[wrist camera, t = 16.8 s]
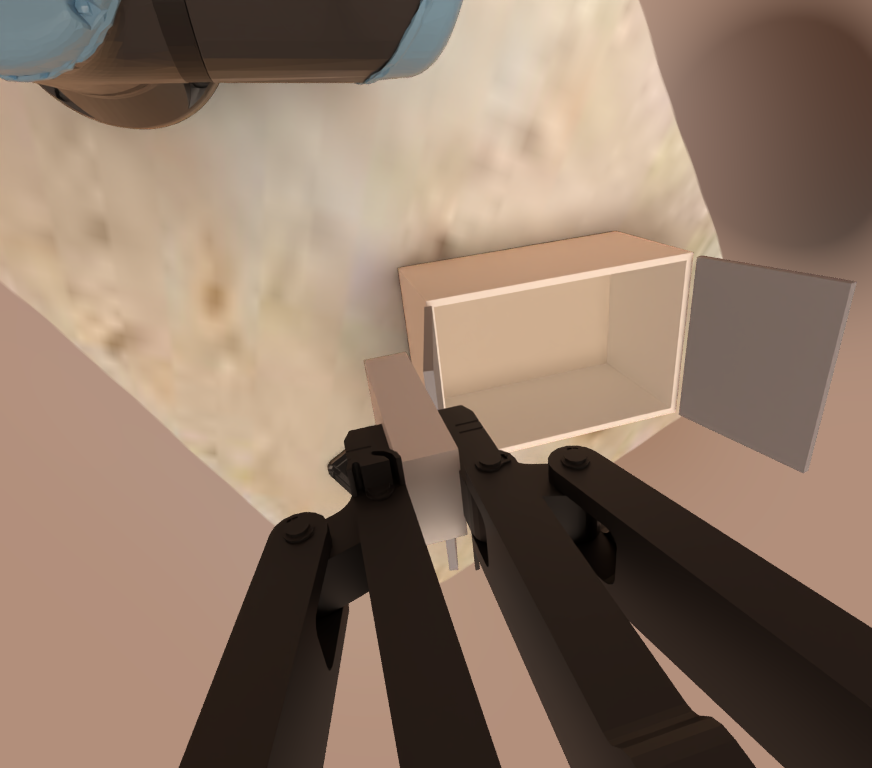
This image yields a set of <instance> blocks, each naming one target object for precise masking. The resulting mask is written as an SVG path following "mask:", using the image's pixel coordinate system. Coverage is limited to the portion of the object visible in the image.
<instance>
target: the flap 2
mask: <svg viewBox="0 0 872 768" xmlns="http://www.w3.org/2000/svg"><path fill="white" fill-rule="evenodd" d="M856 283H857V282H856V281H850V280H844V279H838V278H832V277H826V276H820V275H814V274H809V273H803V272H797V271H791V270H785V269H778V268H773V267H767V266H761V265H755V264H749V263H743V262H737V261H731V260H725V259H720V258H714V257H708V256H699V257H697V262H696V271H695V279H694V288H693V297H692V305H691V314H690V323H689V331H688V340H687V349H686V357H685V366H684V375H683V383H682V392H681V401H680V409H679V415H681V416H683V417H685V418H687V419H689V420H691V421H693V422H696V423H698V424H700V425H702V426H704V427H706V428H708V429H710V430H712V431H715V432H717V433H719V434H721V435H723V436H725V437H727V438H730V439H732V440H734V441H736V442H739V443H740V444H742V445H744V446H746V447H749V448H751V449H753V450H755V451H757V452H760V453H761V454H764V455H766V456H768V457H770V458H772V459H774V460H776V461H778V462H780V463H783V464H785V465H787V466H789V467H791V468H793V469H795V470H797V471H800V472H802V473H805V472H806V471H808V468H809V465H810V461H811V456H812V453H813V449H814V445H815V441H816V438H817V434H818V430H819V426H820V422H821V418H822V414H823V410H824V406H825V403H826V399H827V395H828V391H829V387H830V383H831V380H832V376H833V372H834V368H835V364H836V360H837V356H838V353H839V348H840V345H841V341H842V337H843V333H844V329H845V325H846V322H847V318H848V314H849V310H850V306H851V302H852V298H853V294H854V291H855V286H856Z"/></svg>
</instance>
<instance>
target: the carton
mask: <svg viewBox="0 0 872 768" xmlns="http://www.w3.org/2000/svg"><path fill="white" fill-rule="evenodd" d="M693 253H694V252H691V251H687V250H684V249H680V248H676V247H673V246H669V245H665V244H662V243H658V242H654V241H651V240H647V239H644V238H640V237H636V236H633V235H629V234H625V233H622V232H618V231H612V232H606V233H600V234H594V235H588V236H582V237H576V238H571V239H565V240H559V241H553V242H547V243H541V244H535V245H529V246H524V247H518V248H512V249H506V250H500V251H494V252H488V253H482V254H477V255H471V256H465V257H459V258H453V259H447V260H441V261H435V262H430V263H424V264H418V265H412V266H406V267H400V268H398V274H399V281H400V288H401V295H402V302H403V309H404V316H405V323H406V330H407V337H408V343H409V350H410V357H411V363H412V364H413V366H414V368H415V370H416V372H417V374H418V375H419V377H420V379H421V381H422V383H423V385H424V386H425V382H424V375H423V350H424V307H428V306H432V311H433V319H434V328H435V336H436V345H437V353H438V362H439V370H440V378H441V387H442V395H443V404H444V409H445V408H449V407H454V406H458V405H463V406H464V407H466V408H468V409H470V410H472V411H473V412H474V414H475V415H476V417H477V418H478V420H479V421H480V423H481V424H482V426H483V428H484V429H485V430H486V432H487V433H488V434H489V436H490V437H491V439H492V440H493V442H494V443H495V445H496V446H497V448H498V449H499V450H503V451H505V452H512V451H516V450H520V449H525V448H529V447H533V446H537V445H541V444H545V443H549V442H553V441H558V440H562V439H566V438H570V437H574V436H578V435H582V434H587V433H591V432H595V431H599V430H603V429H607V428H611V427H615V426H620V425H624V424H628V423H632V422H636V421H640V420H644V419H648V418H653V417H657V416H661V415H665V414H669V413H673V412H676V404H677V396H678V387H679V378H680V369H681V360H682V351H683V342H684V333H685V324H686V315H687V306H688V297H689V288H690V279H691V270H692V262H693Z"/></svg>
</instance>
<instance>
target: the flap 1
mask: <svg viewBox="0 0 872 768" xmlns="http://www.w3.org/2000/svg"><path fill="white" fill-rule="evenodd" d="M423 375H424V382H425V388H426V390H427V392H428V394H429V396H430V398H431V399H432V401H433V403H434V405H435V407H436V409H437V410H440V409H444V404H443V395H442V387H441V378H440V370H439V362H438V353H437V345H436V336H435V328H434V319H433V311H432V306H428V307H424V350H423ZM446 547H447V554H448V562H449V569H450V570H458V560H457V546H456V538H453V539H449V540H446Z"/></svg>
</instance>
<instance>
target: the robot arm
mask: <svg viewBox="0 0 872 768" xmlns="http://www.w3.org/2000/svg"><path fill="white" fill-rule="evenodd" d="M462 2H463V0H0V78H2V79H5V80H7V81H14V82H33V83H37V84H39V85H40V86H41V87H42V88H43V89H44V90H45V91H47V92H48V93H49V94H50V95H51V96H53V97H54V98H55V99H57V100H58V101H60V102H61V103H63V104H64V105H66V106H67V107H69V108H71V109H72V110H74V111H76V112H78V113H80V114H82V115H84V116H86V117H88V118H91V119H93V120H96V121H98V122H101V123H105V124H108V125H112V126H117V127H123V128H132V129H156V128H162V127H167V126H170V125H173V124H176V123H179V122H181V121H183V120H185V119H187V118H189V117H190V116H192V115H193V114H195V113H196V112H197V111H198V110H200V109H201V108H202V107H203V106H204V105H205V104H206V102H207V101H208V100H209V99H210V98H211V96H212V95H213V93H214V92H215V90H216V88H217V87H218V84H219V83H355V84H358V85H362V84H371V83H373V82H376V81H378V80H386V79H397V78H409V77H413V76H416V75H418V74H420V73H422V72H424V71H425V70H427V69H428V68H429V67H430V66H431V65H432V64H433V63H434V62H435V61H436V60H437V59H438V57H439V56H440V54H441V53H442V51H443V50H444V48H445V46H446V44H447V42H448V40H449V38H450V36H451V34H452V31H453V29H454V26H455V23H456V21H457V18H458V15H459V12H460V8H461V5H462ZM364 364H365V370H366V375H367V380H368V386H369V391H370V396H371V401H372V407H373V412H374V417H375V423H376V425H374V426H369V427H365V428H360V429H356V430H351V431H349V432H348V434H347V436H346V438H345V440H344V445H345V451H346V456H347V462H348V464H347V469H346V471H347V475H348V480H349V484H350V488H351V493H352V497H351V499H350V501H349V503H348V504H347V505H346V506H345V507H344V508H343V509H342V510H341V511H339V512H338V513H336V514H334V515H332V516H330V517H328V518H326V519H325V518H324V517H323V516H322V515H320V514H317V513H313V512H303V513H299V514H294V515H292V516H290V517H288V518H286V519H283V520H282V521H281V522H280V523H279V524H277V525H276V526H275V527H274V529H273V530H272V532H271V534H270V535H269V538H268V540H267V543H266V546H265V548H264V551H263V553H262V556H261V558H260V561H259V564H258V566H257V568H256V571H255V574H254V576H253V579H252V581H251V584H250V586H249V589H248V591H247V594H246V597H245V599H244V602H243V604H242V607H241V610H240V612H239V615H238V617H237V620H236V622H235V625H234V627H233V630H232V633H231V635H230V638H229V640H228V643H227V645H226V648H225V650H224V653H223V656H222V658H221V661H220V664H219V666H218V668H217V671H216V674H215V676H214V679H213V681H212V684H211V686H210V689H209V691H208V694H207V697H206V699H205V702H204V704H203V707H202V709H201V712H200V715H199V717H198V720H197V722H196V725H195V728H194V730H193V733H192V736H191V738H190V740H189V743H188V745H187V748H186V751H185V753H184V756H183V758H182V761H181V763H180V766H179V768H323V764H324V759H325V753H326V746H327V740H328V734H329V728H330V722H331V716H332V710H333V704H334V698H335V692H336V686H337V680H338V674H339V668H340V662H341V656H342V650H343V644H344V638H345V631H346V626H347V619H348V614H349V603H350V602H352V601H354V600H355V599H357V598H359V597H360V596H362V595H364V594H365V593H367V592H369V594H370V599H371V605H372V611H373V616H374V621H375V628H376V633H377V639H378V645H379V650H380V656H381V662H382V667H383V673H384V678H385V684H386V690H387V696H388V700H389V701H388V702H389V707H390V713H391V719H392V724H393V730H394V735H395V741H396V747H397V753H398V758H399V764H400V768H501V765H500V762H499V759H498V757H497V753H496V751H495V748H494V744H493V742H492V739H491V736H490V733H489V730H488V727H487V724H486V721H485V718H484V715H483V712H482V709H481V706H480V703H479V700H478V697H477V694H476V691H475V688H474V685H473V683H472V679H471V676H470V673H469V670H468V667H467V664H466V662H465V659H464V656H463V653H462V650H461V647H460V644H459V641H458V638H457V635H456V632H455V630H454V626H453V623H452V620H451V617H450V614H449V611H448V608H447V605H446V603H445V600H444V596H443V593H442V590H441V587H440V585H439V582H438V579H437V576H436V573H435V570H434V567H433V564H432V561H431V558H430V555H429V552H428V549H427V545H431V544H435V543H438V542H442V541H446V540H449V539H453V538H457V537H461V536H464V535H468V534H467V525H466V521H467V523H468V525H469V528H470V530H471V533H472V542H473V552H474V561H475V569H476V570H479V569H480V566H479V562H480V564H481V566H482V569H483V571H484V573H485V576H486V578H487V580H488V582H489V584H490V587H491V589H492V591H493V594H494V596H495V598H496V600H497V603H498V605H499V607H500V609H501V612H502V614H503V616H504V618H505V621H506V623H507V625H508V627H509V630H510V632H511V634H512V637H513V639H514V641H515V643H516V645H517V648H518V650H519V652H520V655H521V657H522V659H523V661H524V664H525V666H526V668H527V670H528V672H529V675H530V677H531V679H532V682H533V684H534V686H535V688H536V691H537V693H538V695H539V697H540V700H541V702H542V704H543V706H544V709H545V711H546V713H547V716H548V718H549V720H550V722H551V725H552V727H553V729H554V731H555V734H556V736H557V738H558V740H559V743H560V745H561V747H562V749H563V752H564V754H565V756H566V759H567V761H568V763H569V765H570V767H571V768H756V767H755V766H754V764H753V763H752V762H751V760H750V759H749V758H748V756H747V755H746V753H745V752H744V751H743V749H742V748H741V747H740V746H739V744H738V743H737V741H736V740H735V739H734V737H733V736H732V735H731V734H730V733H729V732H728V731H727V729H726V728H725V727H724V726H723V725H722V724H721V723H719V722H718V721H716V720H715V719H714V718H712V717H709V716H699V715H697V714H696V713H695V712H693V711H692V710H691V708H690V707H689V706H688V705H687V703H686V702H685V701H684V699H683V698H682V696H681V695H680V693H679V692H678V691H677V689H676V688H675V687H674V685H673V683H672V682H671V681H670V679H669V678H668V676H667V675H666V673H665V672H664V671H663V669H662V668H661V666H660V665H659V663H658V662H657V661H656V659H655V658H654V656H653V655H652V654H651V652H650V651H649V649H648V648H647V646H646V645H645V643H644V642H643V641H642V639H641V638H640V636H639V635H638V634H637V632H636V631H635V629H634V628H633V626H632V625H631V623H632V624H633V625H634V626H635V627H636V628H637V629H638V630H639V631H640V632H641V633H642V634H643V635H644V636H645V637H646V638H648V639H649V640H650V641H651V642H652V643H653V644H654V645H655V646H656V647H657V648H658V649H659V650H660V651H661V652H662V653H663V654H664V655H666V656H667V657H668V658H669V659H670V660H671V661H672V662H673V663H674V664H675V665H676V666H677V667H678V668H679V669H680V670H682V672H684V673H685V674H686V675H687V676H688V677H689V678H690V679H691V680H692V681H693V682H694V683H695V684H696V685H697V686H698V687H699V688H701V689H702V690H703V691H704V692H705V693H706V694H707V695H708V696H709V697H710V698H711V699H712V700H713V701H714V702H715V703H716V704H717V705H719V706H720V707H721V708H722V709H723V710H724V711H725V712H726V713H727V714H728V715H729V716H730V717H731V718H732V719H733V720H734V721H736V722H737V723H738V724H739V725H740V726H741V727H742V728H743V729H744V730H745V731H746V732H747V733H748V734H749V735H750V736H751V737H753V738H754V739H755V740H756V741H757V742H758V743H759V744H760V745H761V746H762V747H763V748H764V749H765V750H766V751H767V752H768V753H769V754H771V755H772V756H773V757H774V758H775V759H776V760H777V761H778V762H779V763H780V764H781V765H782V766H783V767H785V768H872V628H871V627H869V626H868V625H866V624H865V623H863V622H862V621H860V620H858V619H857V618H855V617H854V616H852V615H851V614H849V613H848V612H846V611H844V610H843V609H841V608H840V607H838V606H837V605H835V604H834V603H832V602H830V601H829V600H827V599H826V598H824V597H823V596H821V595H819V594H818V593H816V592H815V591H813V590H812V589H810V588H808V587H807V586H805V585H804V584H802V583H801V582H799V581H798V580H796V579H794V578H792V577H791V576H790V575H788V574H787V573H785V572H783V571H782V570H780V569H779V568H777V567H776V566H774V565H772V564H771V563H769V562H768V561H766V560H765V559H763V558H762V557H760V556H758V555H757V554H755V553H754V552H752V551H750V550H749V549H747V548H746V547H744V546H743V545H741V544H740V543H738V542H737V541H735V540H733V539H732V538H730V537H729V536H727V535H726V534H724V533H722V532H721V531H719V530H718V529H716V528H715V527H713V526H711V525H710V524H708V523H707V522H705V521H704V520H702V519H701V518H699V517H697V516H696V515H694V514H693V513H691V512H690V511H688V510H686V509H685V508H683V507H682V506H680V505H679V504H677V503H676V502H674V501H672V500H671V499H669V498H668V497H666V496H664V495H663V494H661V493H660V492H658V491H657V490H655V489H653V488H652V487H650V486H649V485H647V484H646V483H644V482H643V481H641V480H640V479H638V478H636V477H635V476H633V475H632V474H630V473H628V472H627V471H625V470H624V469H622V468H621V467H619V466H618V465H616V464H614V463H613V462H611V461H610V460H608V459H607V458H605V457H604V456H602V455H600V454H599V453H597V452H596V451H594V450H591V449H589V448H587V447H581V446H565V447H561V448H558V449H556V450H555V451H553V452H552V453H551V454H550V456H549V457H548V464H522V463H518V462H517V460H516V459H515V458H514V457H513V456H512V455H511V454H510V453H508V452H505V451H503V450H499V449H498V448H497V446H496V445H495V443H494V442H493V440H492V439H491V437H490V436H489V434H488V433H487V432H486V430H485V429H484V428H483V426H482V424H481V423H480V421H479V420H478V418H477V417H476V415H475V414H474V412H473V411H472V410H470V409H468V408H466V407H464V406H463V405H458V406H454V407H449V408H445V409H440V410H437V409H436V407H435V405H434V403H433V401H432V399H431V398H430V396H429V394H428V392H427V390H426V388H425V386H424V385H423V383H422V381H421V379H420V377H419V375H418V374H417V372H416V370H415V368H414V366H413V364H412V363H411V361H410V359H409V357H408V355H407V353H406V352H402V353H397V354H392V355H387V356H382V357H377V358H372V359H367V360H364ZM630 622H631V623H630Z"/></svg>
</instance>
